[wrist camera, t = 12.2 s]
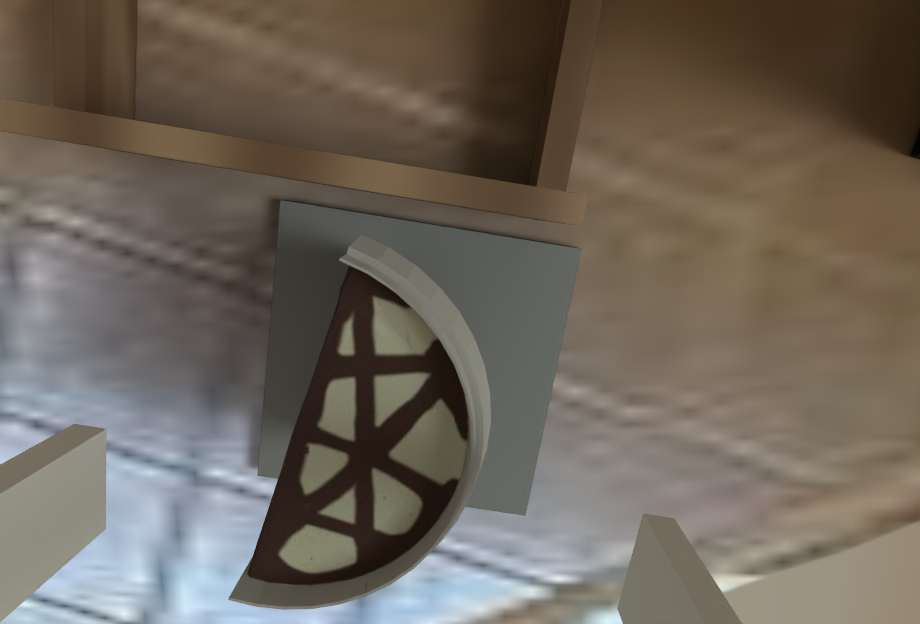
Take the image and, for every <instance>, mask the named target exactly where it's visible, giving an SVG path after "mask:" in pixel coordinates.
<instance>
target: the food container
mask: <svg viewBox="0 0 920 624" xmlns="http://www.w3.org/2000/svg"><path fill="white" fill-rule="evenodd" d="M339 261H341V262H343V263H346V264H348V265H350V266H349V268H348V270H347V273H346V276H345V279H344V281H343V283H342V285H341V287H340V293H339V299H338V302H337V305H336V309H335V312H334V315H333V318H332V321H331V324H330V327H329V330H328V333H327V335H326V338H325V341H324V344H323V347H322V350H321V353H320V356H319V359H318V362H317V365H316V368H315V371H314V374H313V377H312V379H311V382H310V385H309V388H308V391H307V394H306V396H305V399H304V402H303V405H302V407H301V410H300V413H299V416H298V419H297V421H296V424H295V427H294V430H293V433H292V435H291V439H290V442H289V445H288V449H287V452H286V455H285V459H284V462H283V465H282V469H281V472H280V475H279V478H278V481H277V484H276V487H275V490H274V494H273V497H272V500H271V503H270V506H269V509H268V512H267V515H266V518H265V521H264V524H263V527H262V530H261V533H260V536H259V539H258V542H257V545H256V548H255V551H254V555H253V557H252V559H251V560H250V562H249V564H248V566H247V567H246V569H245V571H244V573H243V574H242V576H241V578H240V580H239V581H238V583H237V585H236V586H235V588H234V590H233V592H232V593H231V595H230V597H229V599H228V600H232V601H236V602H240V603H244V604H248V605H252V606H257V607H266V608H274V609H314V608H320V607H326V606H333V605H339V604H342V603H346V602H349V601H352V600H355V599H359V598H362V597H365V596H367V595H369V594H372V593H374V592H376V591H378V590H380V589H382V588H384V587H386V586H388V585H390V584H392V583H393V582H395V581H396V580H398V579H399V578H401V577H402V576H404V575H405V574H407V573H408V572H409V571H411V570H412V569H414V568H415V567H416V566H417V565H418V564H419V563H420V562H421V561H422V560H423V559H424V558H425V557H426V556H427V555H428V554H429V553H431V552H432V551H433V549H434V548H435V547H436V546H437V545H438V544H439V543H440V542H441V541H442V540H443V539H444V537H445V536H446V535H447V533H448V532H449V531H450V529H451V528H452V527H453V526H454V524H455V523H456V522H457V520H458V519H459V517H460V515H461V513H462V511H463V509H464V507H465V505H466V504H467V502H468V500H469V498H470V496H471V493H472V491H473V488H474V485H475V483H476V480H477V477H478V475H479V472H480V469H481V466H482V463H483V459H484V456H485V453H486V450H487V445H488V438H489V431H490V424H491V406H490V390H489V385H488V380H487V375H486V370H485V365H484V362H483V360H482V357H481V354H480V352H479V349H478V346H477V343H476V341H475V338H474V336H473V334H472V333H471V331H470V329H469V327H468V326H467V324H466V322H465V320H464V319H463V317H462V315H461V313H460V312H459V310H458V309H457V308H456V306H455V305H454V304H453V303H452V302H451V300H450V299H449V298H448V297H447V295H446V294H445V293H444V292H443V290H442V289H441V288H440V287H439V286H438V285H437V284H436V283H435V282H434V281H433V280H432V279H431V278H430V277H428V276H427V275H426V274H425V273H424V272H423V271H422V270H421V269H420V268H419V267H417V266H416V265H415V264H414V263H412V262H410V261H409V260H407V259H406V258H404V257H403V256H401V255H400V254H398V253H397V252H395V251H394V250H392V249H391V248H389V247H387V246H385V245H383V244H381V243H379V242H377V241H375V240H373V239H370V238H368V237H366V236H364V235H361V236H360V237H359V238H358V239H357V240H356V241H355V242H353V243H352V244H351V245H350V246H349V248H348V251H347V254H346V255H344V256H342V257H341V258H340V260H339Z"/></svg>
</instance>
